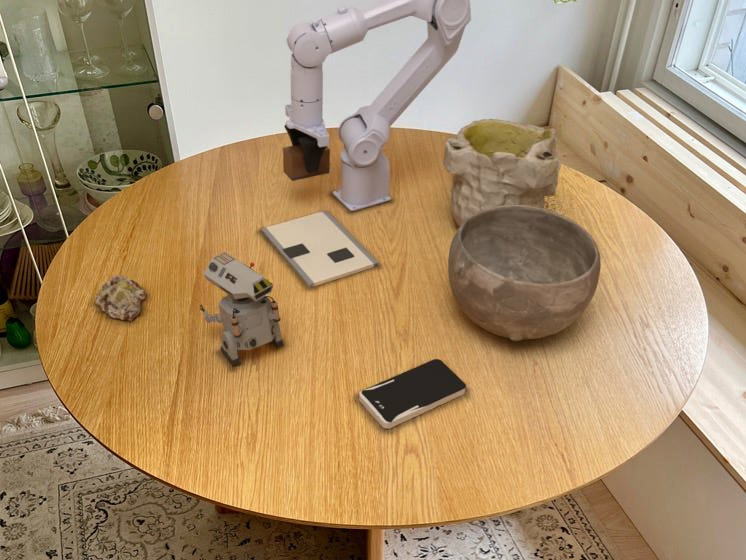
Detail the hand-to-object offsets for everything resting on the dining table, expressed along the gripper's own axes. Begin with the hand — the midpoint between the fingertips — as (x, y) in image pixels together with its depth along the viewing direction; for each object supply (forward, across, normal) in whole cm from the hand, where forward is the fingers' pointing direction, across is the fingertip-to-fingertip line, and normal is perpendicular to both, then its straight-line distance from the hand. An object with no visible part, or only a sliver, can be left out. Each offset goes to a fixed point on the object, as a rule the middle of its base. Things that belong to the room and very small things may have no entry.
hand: (306, 165), depth 145 cm
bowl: (+8, +48, +15) cm, 51 cm away
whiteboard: (+8, +15, -5) cm, 18 cm away
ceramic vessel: (+7, +22, +31) cm, 39 cm away
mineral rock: (+10, +14, -42) cm, 45 cm away
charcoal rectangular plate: (+8, +20, -3) cm, 21 cm away
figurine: (+9, +33, -27) cm, 44 cm away
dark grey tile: (+8, +15, -10) cm, 19 cm away
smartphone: (+8, +56, -10) cm, 58 cm away
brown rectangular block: (+1, 0, 0) cm, 1 cm away
